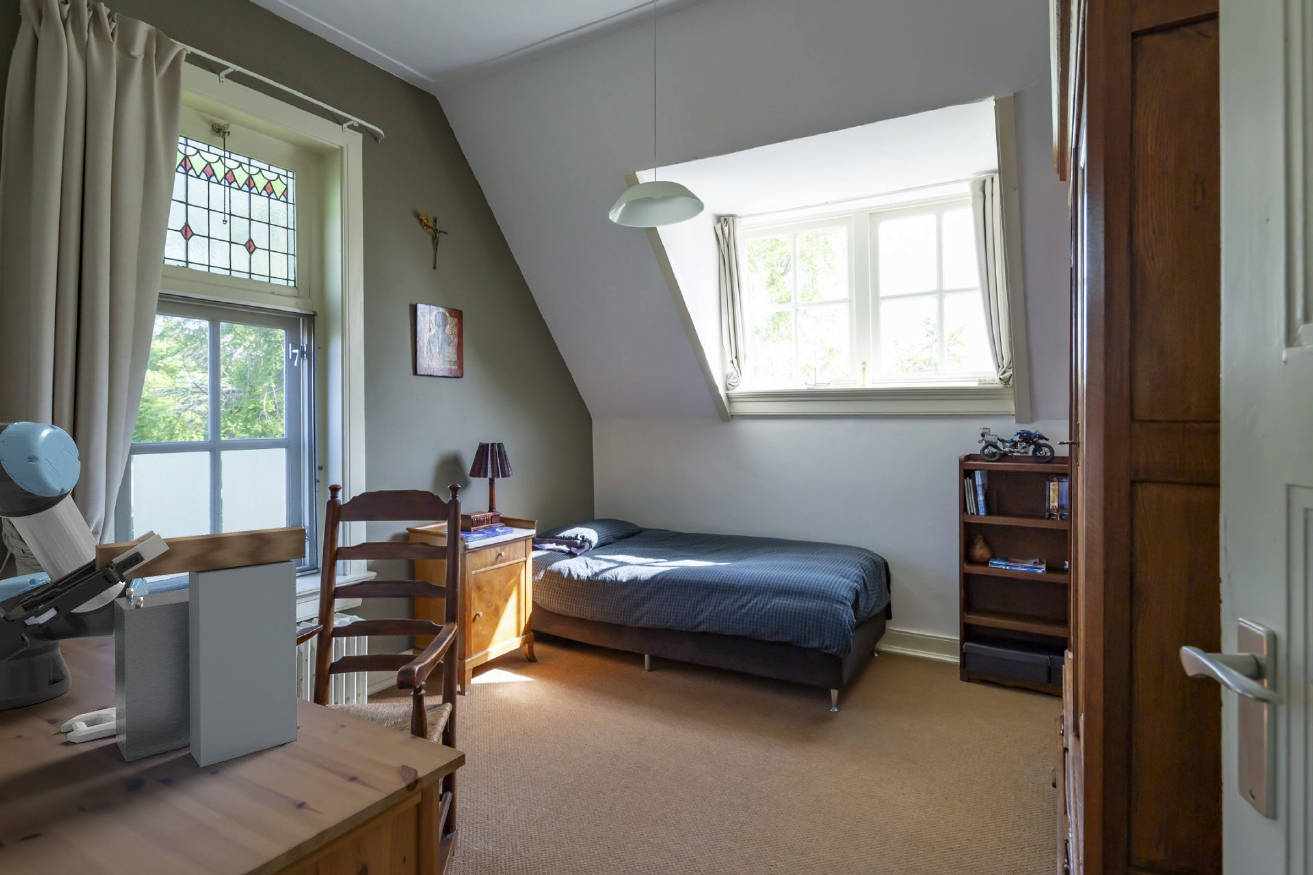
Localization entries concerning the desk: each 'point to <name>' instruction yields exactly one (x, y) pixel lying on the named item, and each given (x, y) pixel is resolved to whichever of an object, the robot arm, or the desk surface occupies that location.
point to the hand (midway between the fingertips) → (160, 539)
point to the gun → (91, 725)
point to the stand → (242, 660)
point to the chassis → (152, 673)
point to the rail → (213, 551)
